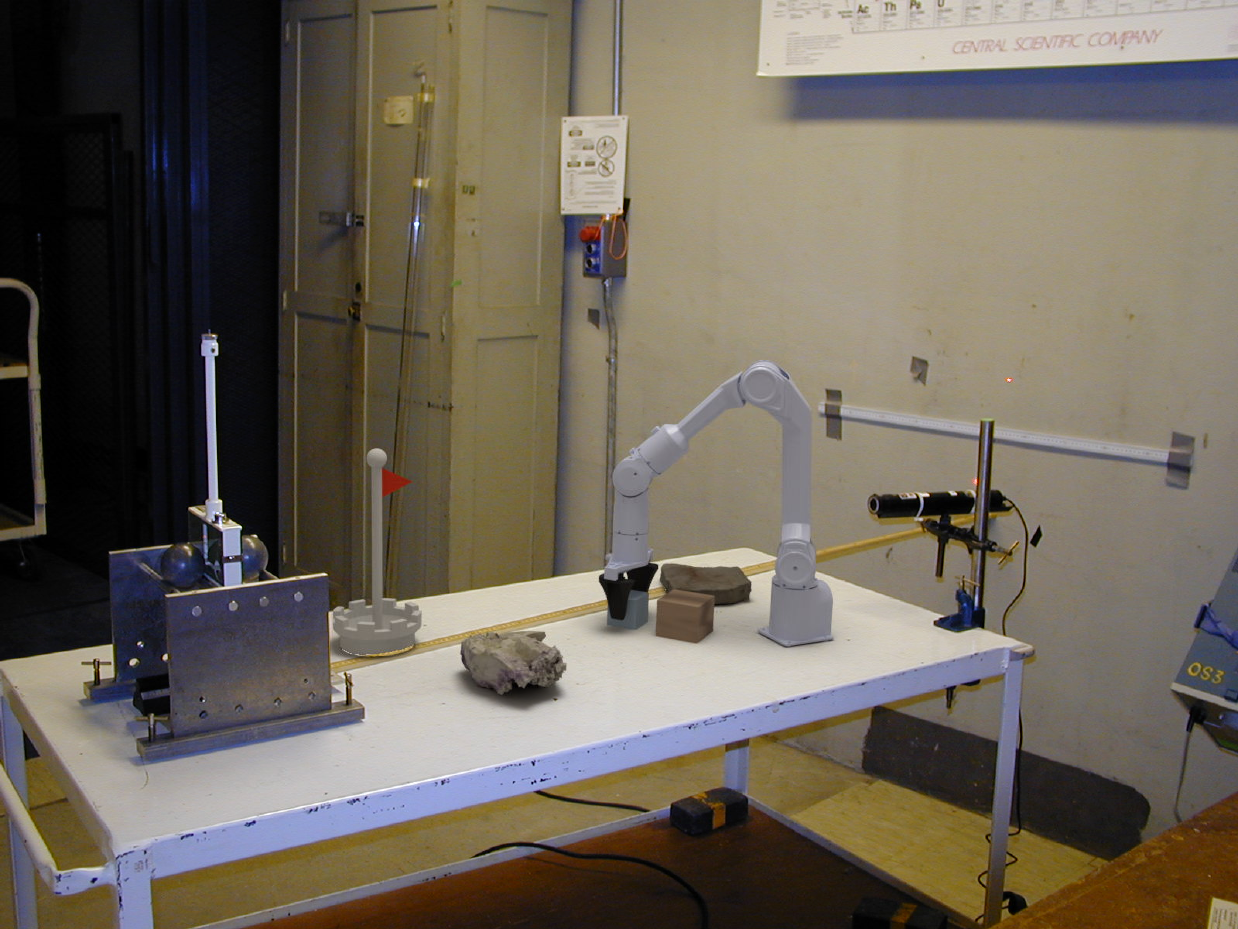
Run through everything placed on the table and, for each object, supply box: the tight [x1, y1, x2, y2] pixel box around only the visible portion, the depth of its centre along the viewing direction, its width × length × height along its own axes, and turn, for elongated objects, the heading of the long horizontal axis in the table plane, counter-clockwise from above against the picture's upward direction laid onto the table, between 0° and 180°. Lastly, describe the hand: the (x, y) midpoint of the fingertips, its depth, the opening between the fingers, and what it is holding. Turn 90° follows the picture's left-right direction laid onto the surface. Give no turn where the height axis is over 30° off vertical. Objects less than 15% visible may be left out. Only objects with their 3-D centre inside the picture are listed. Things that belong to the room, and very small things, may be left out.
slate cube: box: [606, 590, 650, 631], centre depth 193 cm, size 5×5×5 cm
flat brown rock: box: [659, 562, 752, 605], centre depth 211 cm, size 17×15×4 cm
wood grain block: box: [655, 589, 715, 644], centre depth 189 cm, size 7×7×6 cm
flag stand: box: [332, 447, 423, 655], centre depth 177 cm, size 13×13×30 cm
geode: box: [459, 630, 567, 695], centre depth 165 cm, size 17×9×15 cm
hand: (627, 612), depth 193 cm, fingers open, 7 cm apart
